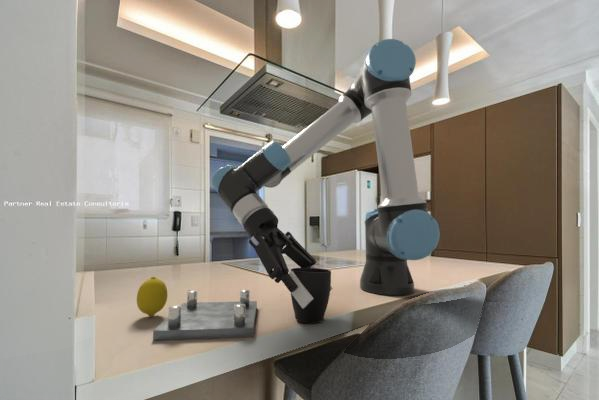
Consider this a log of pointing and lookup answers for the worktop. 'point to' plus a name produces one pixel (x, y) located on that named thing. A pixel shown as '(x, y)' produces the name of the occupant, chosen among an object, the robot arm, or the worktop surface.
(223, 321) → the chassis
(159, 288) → the lemon
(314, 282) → the mug
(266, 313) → the worktop surface
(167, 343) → the worktop surface
